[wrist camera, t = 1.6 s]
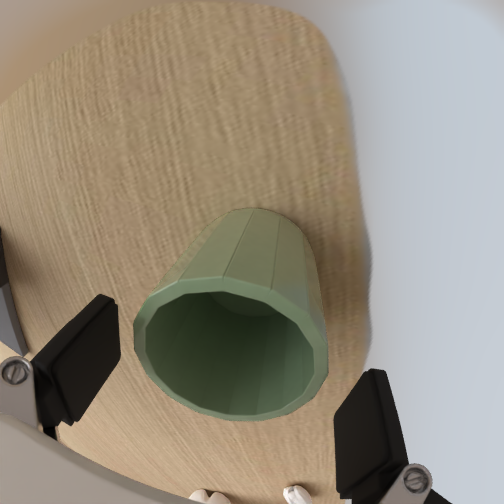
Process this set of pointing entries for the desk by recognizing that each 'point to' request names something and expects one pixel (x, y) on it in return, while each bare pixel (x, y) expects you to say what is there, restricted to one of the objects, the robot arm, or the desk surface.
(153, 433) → the desk surface
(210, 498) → the water bottle
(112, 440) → the desk surface
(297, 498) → the white oval pebble
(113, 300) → the robot arm
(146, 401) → the desk surface
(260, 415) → the cup
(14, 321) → the coffee maker
